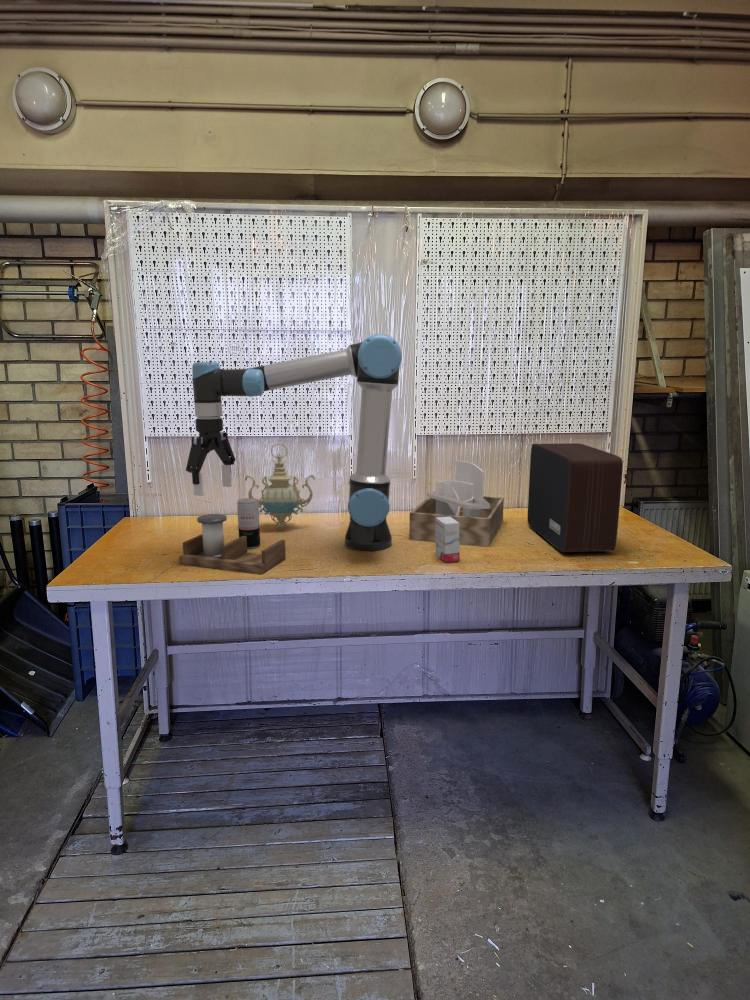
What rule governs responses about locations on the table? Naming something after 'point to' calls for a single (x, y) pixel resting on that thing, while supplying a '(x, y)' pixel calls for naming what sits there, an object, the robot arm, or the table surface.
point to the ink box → (447, 539)
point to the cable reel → (212, 534)
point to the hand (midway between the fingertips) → (213, 490)
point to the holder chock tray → (469, 527)
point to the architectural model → (461, 492)
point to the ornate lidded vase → (280, 493)
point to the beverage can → (249, 521)
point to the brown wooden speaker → (575, 496)
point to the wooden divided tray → (234, 556)
